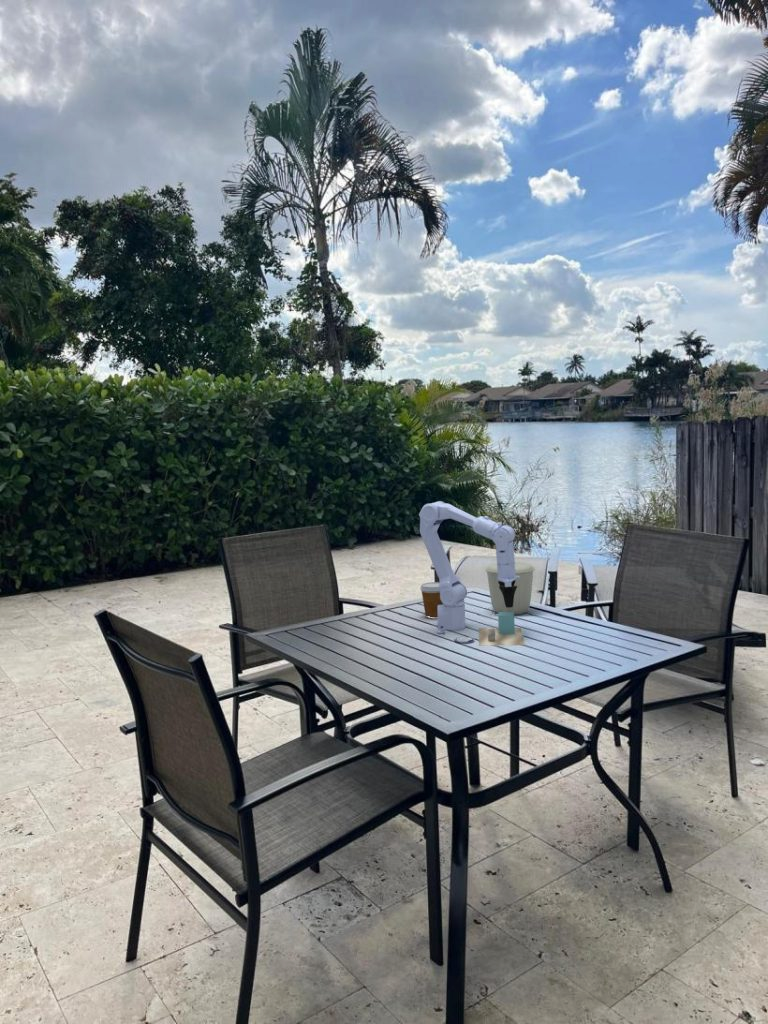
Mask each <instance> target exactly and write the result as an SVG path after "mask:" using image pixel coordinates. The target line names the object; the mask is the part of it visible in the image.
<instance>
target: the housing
mask: <svg viewBox="0 0 768 1024" xmlns="http://www.w3.org/2000/svg"><path fill="white" fill-rule="evenodd" d="M497 617H498V618H497V622H498V627H497V628H499V634H515V628H516V627H515V615H514V612H498V613H497Z"/></svg>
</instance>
